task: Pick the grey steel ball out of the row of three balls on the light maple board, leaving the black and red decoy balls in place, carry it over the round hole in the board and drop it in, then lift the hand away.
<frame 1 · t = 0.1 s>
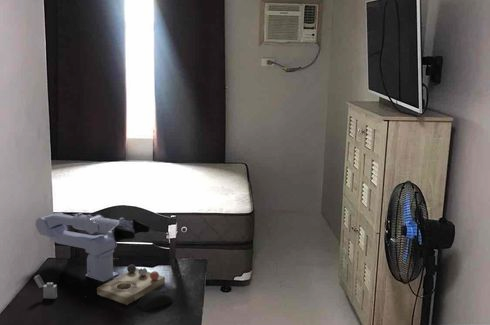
hand: (141, 232, 184), 22 cm above the table, tool horizontal, fingers open, 7 cm apart
lighter: (46, 297, 181), on the table
red ball: (154, 275, 190), point 4 cm above the table, touching maple board
maple board: (131, 288, 189), on the table
black ball: (131, 268, 196), point 4 cm above the table, touching maple board
steel ball: (142, 272, 193), point 4 cm above the table, touching maple board
computer mouse: (154, 304, 179), on the table
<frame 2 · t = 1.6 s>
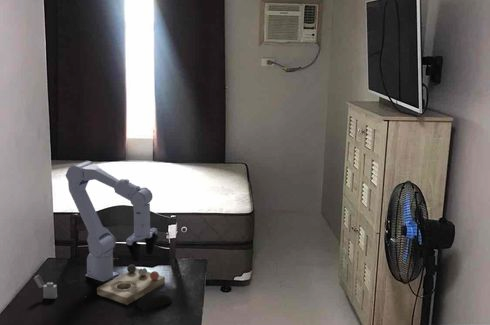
hand: (142, 257, 192), 10 cm above the table, tool pointing down, fingers open, 7 cm apart
nothing on the table moved.
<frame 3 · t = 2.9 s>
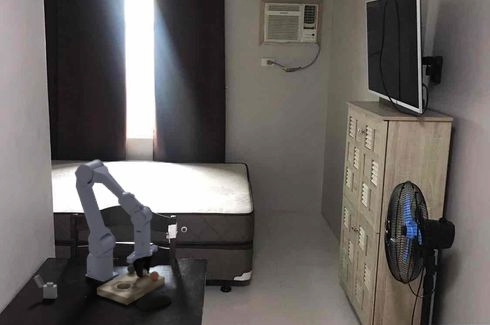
hand: (142, 274, 193), 3 cm above the table, tool pointing down, fingers closed on steel ball, 3 cm apart
steel ball: (142, 272, 193), point 4 cm above the table, touching gripper, maple board
everything else where it was.
when the fingers open (4 cm above the table, at t = 5.3 s): steel ball drops 3 cm, point 2 cm above the table.
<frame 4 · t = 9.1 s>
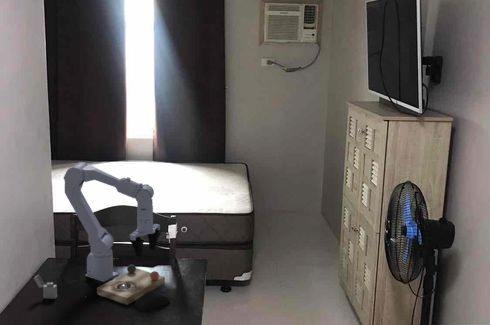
hand: (145, 252, 196), 10 cm above the table, tool pointing down, fingers open, 7 cm apart
steel ball: (123, 289, 185), point 2 cm above the table, tilted 17°
everything else where it was.
at the end: steel ball 0.4 cm from the target spot in the maple board, point 1.6 cm above the maple board's base; black ball moved 0.0 cm from its start; red ball moved 0.0 cm from its start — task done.
